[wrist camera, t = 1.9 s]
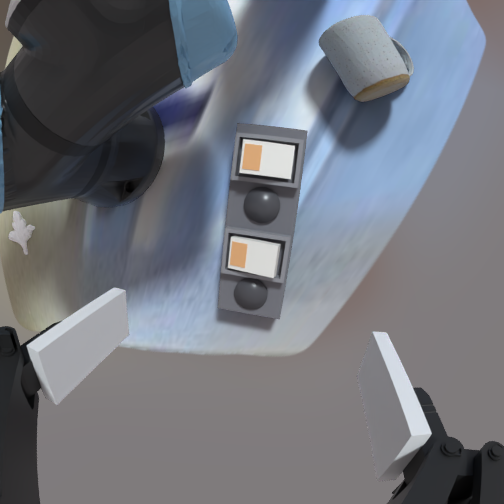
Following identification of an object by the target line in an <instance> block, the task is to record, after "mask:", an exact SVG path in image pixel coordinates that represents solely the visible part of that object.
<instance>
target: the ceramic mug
mask: <svg viewBox="0 0 504 504" xmlns="http://www.w3.org/2000/svg"><path fill="white" fill-rule="evenodd" d="M319 46H320V47H321V49H322V50H323V52H324V53H325V55H326V56H327V58H328V59H329V61H330V62H331V64H332V66H333V67H334V69H335V70H336V72H337V73H338V75H339V76H340V78H341V80H342V82H343V84H344V86H345V87H346V89H347V90H348V92H349V93H350V94H351V95H352V97H353V98H354V99H355V100H357V101H360V102H365V101H370V100H373V99H376V98H379V97H382V96H385V95H387V94H390V93H392V92H394V91H397V90H399V89H401V88H403V87H404V86H406V85H407V84H408V82H409V79H410V76H411V75H412V74H413V70H414V67H413V63H412V60H411V58H410V56H409V54H408V52H407V51H406V50H405V48H404V47H403V46H402V45H401V44H400V43H399V42H398V41H396V40H395V39H393V38H391V37H389V35H388V34H387V32H386V30H385V29H384V27H383V26H382V24H381V23H380V21H379V20H378V19H377V18H376V17H374V16H370V15H360V16H354V17H351V18H348V19H345V20H342V21H340V22H338V23H336V24H334V25H332V26H331V27H330V28H329V29H327V30H326V31H325V32H324V33H323V34H322V35H321V37H320V39H319Z"/></svg>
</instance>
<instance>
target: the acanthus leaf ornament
mask: <svg viewBox="0 0 504 504" xmlns="http://www.w3.org/2000/svg"><path fill="white" fill-rule="evenodd" d="M13 220H14V222H13V223H12V226H13V228H14V230H15V231H11V232H10V233H9V236H8V238H9V239H10V240H12V241H13V242H17V243H19V244H20V245H21V246H22V248H23V252H24V254H26V255H28V250H27V241H28V239H29V238H30V237H31V236H32V235H31V234H32V232H33V230H35V226H32V225H28V226H26V220H25V219H23V218H22V215H21V213H20V212H18V211H14V212H13Z"/></svg>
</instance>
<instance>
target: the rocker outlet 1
mask: <svg viewBox="0 0 504 504" xmlns="http://www.w3.org/2000/svg"><path fill="white" fill-rule="evenodd" d="M294 150H295V146H292V145H285V144H278V143H271V142H264V141H255V140H247V139H243V147H242V155H241V163H240V171H239V173H245V174H254V175H262V176H270V177H277V178H285V179H291V174H292V166H293V158H294Z"/></svg>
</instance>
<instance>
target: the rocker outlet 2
mask: <svg viewBox="0 0 504 504" xmlns="http://www.w3.org/2000/svg"><path fill="white" fill-rule="evenodd" d="M280 246H281V244H277V243H272V242H267V241H262V240H257V239H251V238H246V237H241V236H236V235H235V236H232V237H231V242H230V251H229V261H228V268H231V269H235V270H240V271H244V272H248V273H253V274H257V275H261V276H266V277H270V278H274V277H275V276H276V272H277V266H278V259H279V253H280Z"/></svg>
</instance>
